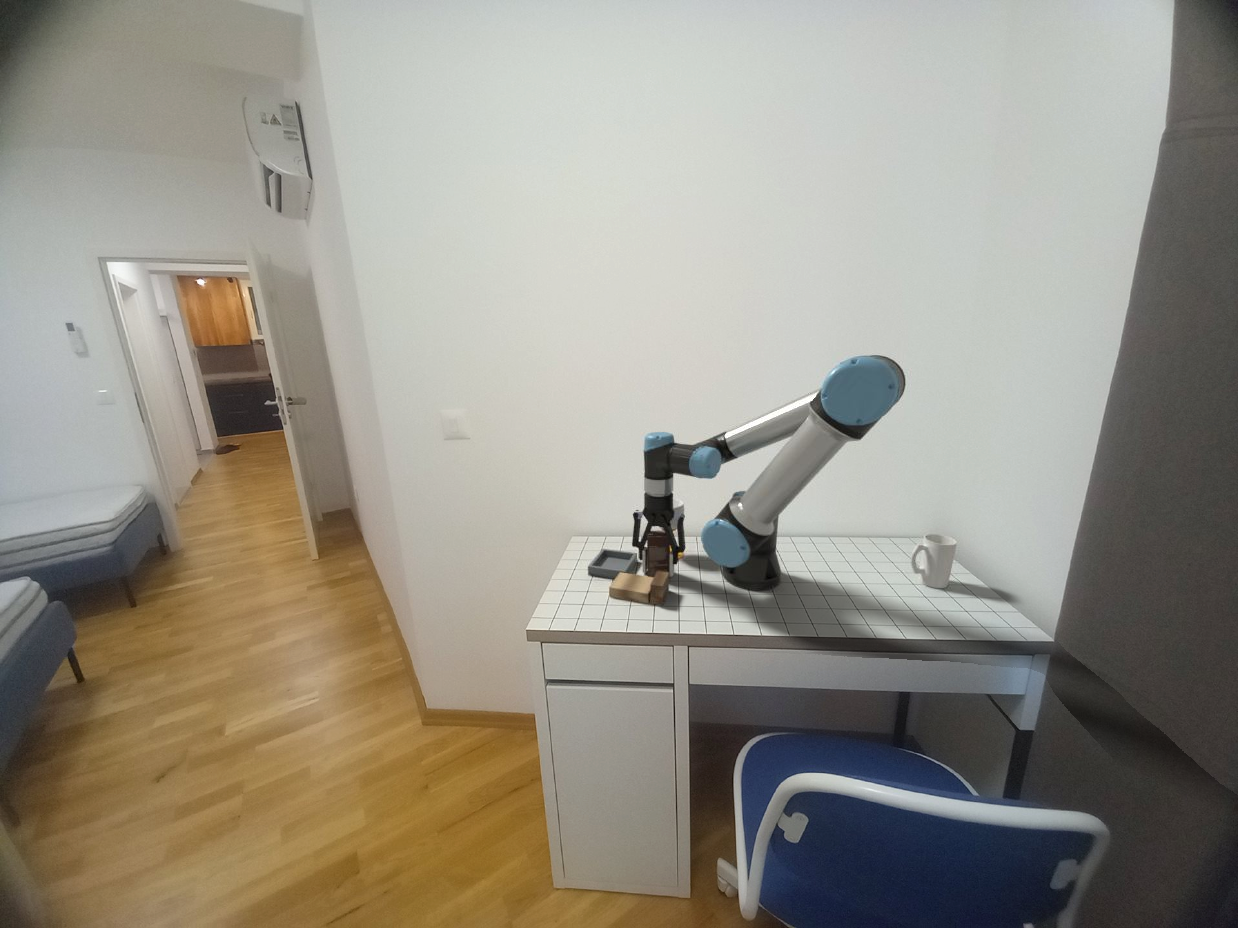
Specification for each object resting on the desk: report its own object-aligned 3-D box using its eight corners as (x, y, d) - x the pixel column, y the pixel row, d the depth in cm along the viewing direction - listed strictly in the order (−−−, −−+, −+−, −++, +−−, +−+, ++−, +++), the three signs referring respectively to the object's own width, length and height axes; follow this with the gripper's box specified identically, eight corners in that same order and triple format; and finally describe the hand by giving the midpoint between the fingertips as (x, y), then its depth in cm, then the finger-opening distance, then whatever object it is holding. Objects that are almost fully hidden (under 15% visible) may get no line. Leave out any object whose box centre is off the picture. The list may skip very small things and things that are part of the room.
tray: (637, 560, 129) (637, 553, 129) (625, 580, 119) (624, 571, 118) (602, 556, 133) (602, 548, 132) (588, 574, 122) (587, 566, 121)
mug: (936, 575, 118) (943, 533, 115) (955, 588, 112) (963, 544, 109) (898, 576, 118) (905, 534, 115) (915, 590, 111) (923, 545, 108)
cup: (690, 555, 132) (691, 503, 128) (666, 563, 128) (667, 510, 124) (670, 544, 140) (670, 495, 136) (647, 552, 135) (647, 502, 131)
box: (668, 569, 124) (668, 529, 121) (670, 578, 120) (670, 536, 116) (646, 570, 124) (646, 529, 121) (647, 578, 120) (647, 536, 117)
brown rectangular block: (668, 590, 113) (668, 572, 112) (662, 604, 107) (662, 586, 106) (657, 588, 114) (657, 570, 113) (650, 602, 108) (650, 584, 107)
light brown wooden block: (656, 588, 115) (656, 577, 115) (647, 604, 108) (647, 593, 107) (620, 582, 119) (619, 572, 118) (609, 597, 111) (609, 587, 111)
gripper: (698, 490, 116) (696, 570, 122) (626, 485, 122) (627, 561, 128) (694, 499, 109) (692, 584, 115) (618, 493, 115) (619, 573, 121)
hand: (658, 572), depth 122 cm, fingers closed on box, 7 cm apart
